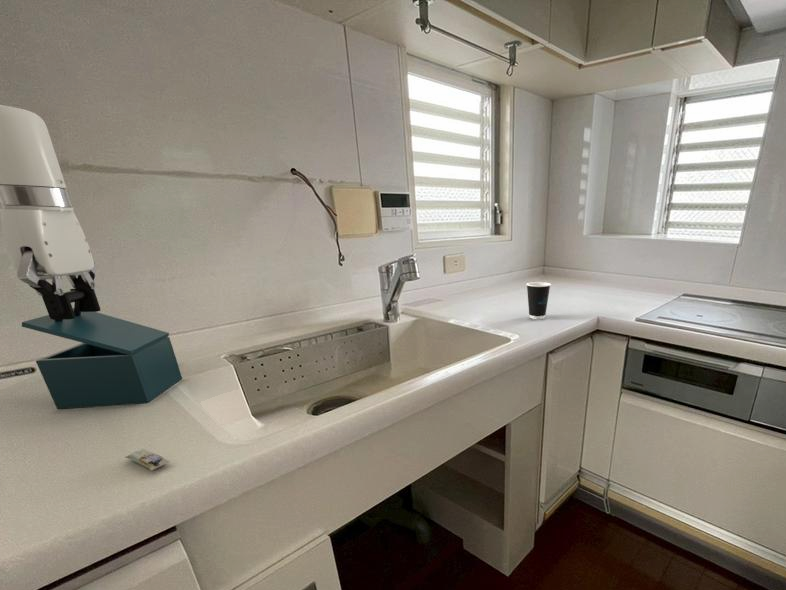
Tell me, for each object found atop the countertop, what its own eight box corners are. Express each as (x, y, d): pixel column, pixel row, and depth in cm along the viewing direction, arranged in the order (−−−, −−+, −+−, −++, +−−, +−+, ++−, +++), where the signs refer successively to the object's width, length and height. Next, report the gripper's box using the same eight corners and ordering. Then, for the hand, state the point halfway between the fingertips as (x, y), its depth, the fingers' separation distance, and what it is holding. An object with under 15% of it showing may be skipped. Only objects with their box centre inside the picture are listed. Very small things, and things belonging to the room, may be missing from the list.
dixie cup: (529, 313, 137) (530, 281, 133) (552, 315, 134) (553, 282, 130) (522, 318, 130) (522, 284, 126) (545, 321, 127) (547, 286, 123)
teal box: (57, 409, 68) (35, 360, 65) (104, 383, 79) (87, 340, 76) (148, 402, 71) (131, 355, 68) (182, 378, 81) (169, 336, 78)
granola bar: (125, 460, 54) (122, 453, 54) (145, 451, 56) (142, 445, 56) (152, 473, 51) (149, 466, 51) (172, 464, 53) (170, 457, 53)
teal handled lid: (21, 326, 63) (23, 293, 62) (77, 310, 74) (80, 282, 72) (130, 355, 68) (135, 325, 66) (168, 336, 78) (173, 309, 77)
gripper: (52, 201, 69) (87, 305, 76) (-52, 196, 54) (4, 328, 60) (103, 203, 71) (133, 305, 77) (16, 198, 55) (63, 327, 62)
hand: (76, 314), depth 69 cm, fingers closed on teal handled lid, 5 cm apart
